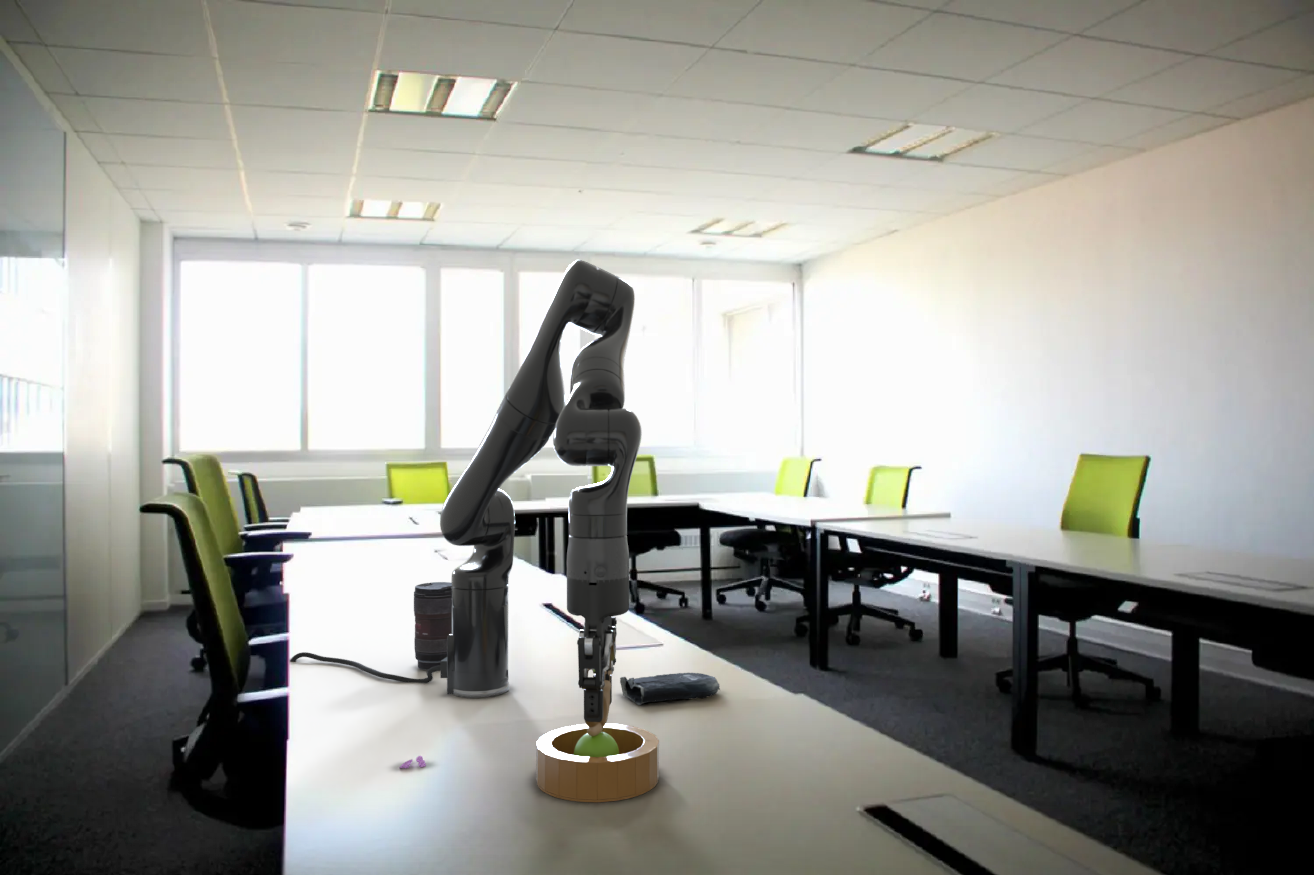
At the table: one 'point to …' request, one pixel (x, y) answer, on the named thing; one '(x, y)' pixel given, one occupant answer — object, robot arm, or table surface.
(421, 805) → the table surface
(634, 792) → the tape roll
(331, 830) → the table surface
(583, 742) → the snail figurine
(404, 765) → the earpods
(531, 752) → the table surface
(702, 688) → the dark blue pouch
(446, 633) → the camera lens
